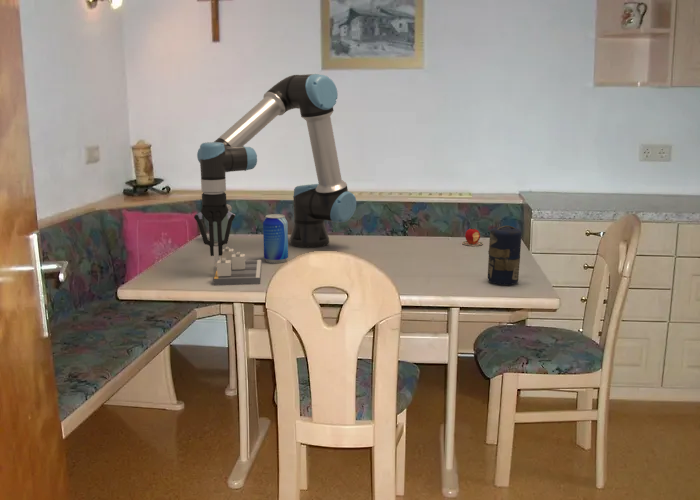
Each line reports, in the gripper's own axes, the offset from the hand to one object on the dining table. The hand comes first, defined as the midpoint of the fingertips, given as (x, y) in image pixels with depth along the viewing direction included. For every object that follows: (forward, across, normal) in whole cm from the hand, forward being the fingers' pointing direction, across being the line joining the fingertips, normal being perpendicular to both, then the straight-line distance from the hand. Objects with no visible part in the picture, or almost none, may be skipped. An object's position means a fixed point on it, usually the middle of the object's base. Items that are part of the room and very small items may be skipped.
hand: (217, 265), depth 222 cm
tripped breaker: (+1, -7, 0) cm, 7 cm away
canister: (+4, -89, +17) cm, 91 cm away
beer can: (+4, -19, -18) cm, 26 cm away
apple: (+4, -95, -38) cm, 102 cm away
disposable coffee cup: (+4, +3, -53) cm, 53 cm away
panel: (+3, -7, 0) cm, 8 cm away
